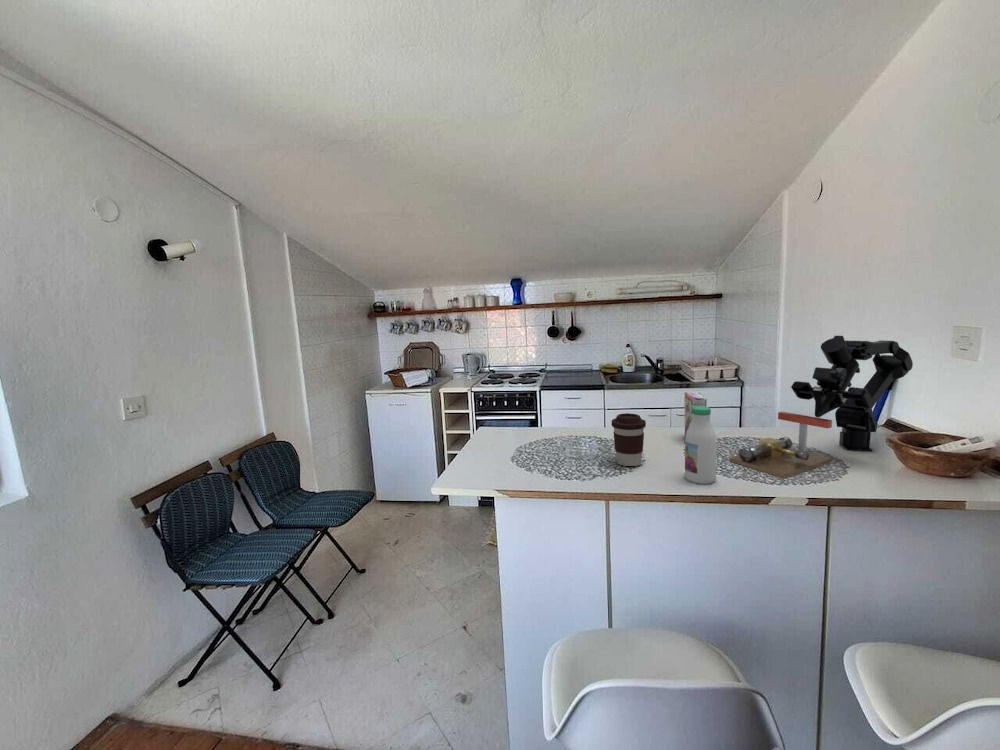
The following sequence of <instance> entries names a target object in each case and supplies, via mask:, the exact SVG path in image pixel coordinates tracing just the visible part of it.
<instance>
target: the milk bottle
mask: <svg viewBox="0 0 1000 750" xmlns="http://www.w3.org/2000/svg"><path fill="white" fill-rule="evenodd" d="M711 411H712V409H711V408H710V407H709V406H706V407H705V406H695V407H692V416H693V418H692V422H691V424H690V426H689V428H688V430H687V433H686V437H685V442H684V477H685V479H686V480H687V481H689V482H691V483H694V484H699V485H709V484H713V483H715V482H716V480H717V454H718V453H717V447H718V446H717V435H716V432H715V430H714V428H713V425H712V423H711V419H710V417H711V413H712V412H711Z"/></svg>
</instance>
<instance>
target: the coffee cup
mask: <svg viewBox="0 0 1000 750" xmlns="http://www.w3.org/2000/svg"><path fill="white" fill-rule="evenodd" d="M646 424H647V423H646V420H645V419H643V418H641V416H640V415H639V414H637V413H636V414H635V413H630V412H627V413H620V414H617V415H616V416H615V418H613V419H612V420H611V427H612V428H613V443H614V450H615V456H616V457H615V459H616V464H618V465H619V464H620V465H619V466H621V465H623V466H622V467H625V466H635V467H638V465H639V466H641V464H642V457H643V451H644V438H645V431H644V430H645V428H646V426H647V425H646Z"/></svg>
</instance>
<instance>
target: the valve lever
mask: <svg viewBox="0 0 1000 750" xmlns="http://www.w3.org/2000/svg"><path fill="white" fill-rule="evenodd" d="M777 419H778V420H781V421H787V422H791V423H798V424H799V426H798V427H799V430H798V431H799V432H798V449H797V450H798V451H797V452H796V454H795V457H796V458H798V459H802V460H808V458H809V454H808V453H809V452H807V442H808V440H807V439H808V426H812V427H816V428H817V427H818V428H823V429H831V428H832V427H833V420H832V419H827V418H822V417H815V416H809V415H804V414H797V413H792V412H786V411H777ZM806 452H807V453H806Z"/></svg>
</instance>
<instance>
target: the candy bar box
mask: <svg viewBox="0 0 1000 750" xmlns="http://www.w3.org/2000/svg"><path fill="white" fill-rule="evenodd" d="M707 401H708V400H707V398H706V397H705V396H704V395H703V394H702V393H700V392H699V391H691V392H689V391H687V392H684V437H685V438H686V433H687V430H688V428H689V426H690V424H691V422H692V418H693V416H692V407H695V406H705V407H707Z"/></svg>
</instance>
